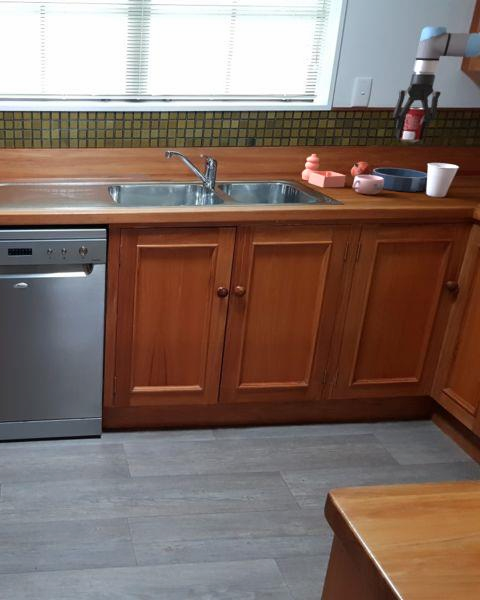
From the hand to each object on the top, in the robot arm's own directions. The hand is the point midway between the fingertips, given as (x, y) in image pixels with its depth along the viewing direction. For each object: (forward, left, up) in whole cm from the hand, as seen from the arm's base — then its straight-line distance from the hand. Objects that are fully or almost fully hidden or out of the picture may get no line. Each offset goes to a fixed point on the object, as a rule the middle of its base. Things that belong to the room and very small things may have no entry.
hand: (408, 138), depth 228 cm
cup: (-9, +13, -18) cm, 24 cm away
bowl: (0, +1, -18) cm, 18 cm away
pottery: (+29, 0, -18) cm, 35 cm away
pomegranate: (+12, -10, -15) cm, 21 cm away
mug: (+16, +17, -18) cm, 30 cm away
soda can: (0, 0, -1) cm, 1 cm away
